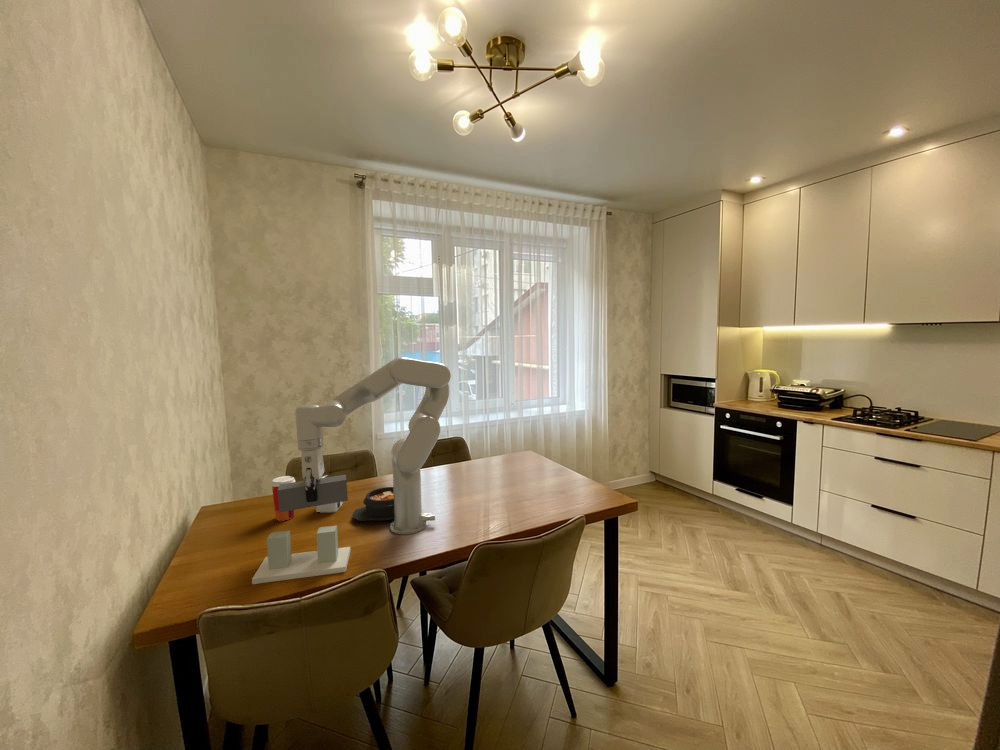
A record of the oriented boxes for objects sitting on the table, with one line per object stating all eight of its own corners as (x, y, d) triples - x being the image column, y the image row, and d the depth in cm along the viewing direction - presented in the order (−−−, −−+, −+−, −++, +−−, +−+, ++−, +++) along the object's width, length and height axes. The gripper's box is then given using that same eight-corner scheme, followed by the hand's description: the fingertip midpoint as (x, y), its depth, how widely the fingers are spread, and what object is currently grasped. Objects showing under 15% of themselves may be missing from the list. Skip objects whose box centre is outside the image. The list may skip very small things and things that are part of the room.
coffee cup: (291, 511, 161) (289, 474, 159) (301, 517, 155) (299, 478, 154) (268, 518, 154) (266, 479, 153) (278, 524, 149) (275, 484, 148)
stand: (350, 551, 129) (349, 518, 128) (345, 571, 117) (344, 536, 117) (266, 561, 123) (264, 527, 123) (252, 584, 112) (249, 547, 111)
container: (343, 504, 167) (341, 473, 166) (336, 512, 159) (334, 479, 158) (323, 505, 167) (322, 473, 166) (315, 512, 159) (314, 480, 158)
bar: (347, 494, 141) (345, 474, 140) (347, 500, 135) (346, 479, 135) (281, 505, 133) (279, 484, 132) (279, 512, 128) (277, 490, 127)
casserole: (354, 531, 143) (354, 507, 142) (350, 511, 160) (349, 490, 159) (425, 517, 153) (425, 496, 153) (414, 500, 170) (413, 481, 170)
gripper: (317, 448, 125) (321, 506, 126) (327, 436, 142) (331, 487, 143) (291, 451, 123) (295, 509, 125) (304, 438, 140) (307, 489, 141)
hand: (314, 496), depth 134 cm, fingers closed on bar, 6 cm apart
